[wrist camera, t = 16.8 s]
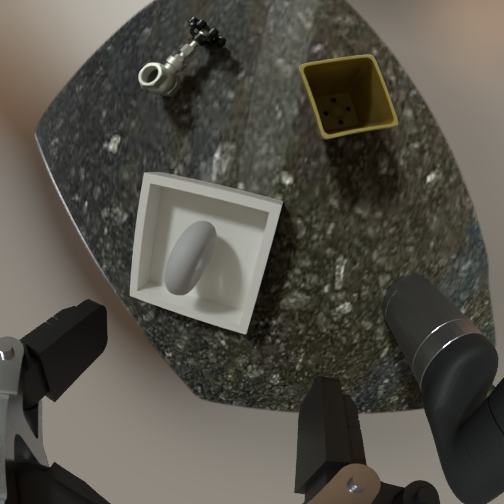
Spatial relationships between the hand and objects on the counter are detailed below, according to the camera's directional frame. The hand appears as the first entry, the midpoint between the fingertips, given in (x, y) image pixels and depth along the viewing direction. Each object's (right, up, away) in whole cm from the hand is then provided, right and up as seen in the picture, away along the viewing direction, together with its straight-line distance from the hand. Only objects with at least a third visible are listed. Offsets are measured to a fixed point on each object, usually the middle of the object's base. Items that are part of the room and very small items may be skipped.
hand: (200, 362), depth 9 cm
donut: (-5, +4, +30) cm, 31 cm away
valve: (-7, +31, +24) cm, 40 cm away
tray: (-5, +5, +31) cm, 32 cm away
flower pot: (+13, +22, +24) cm, 35 cm away
